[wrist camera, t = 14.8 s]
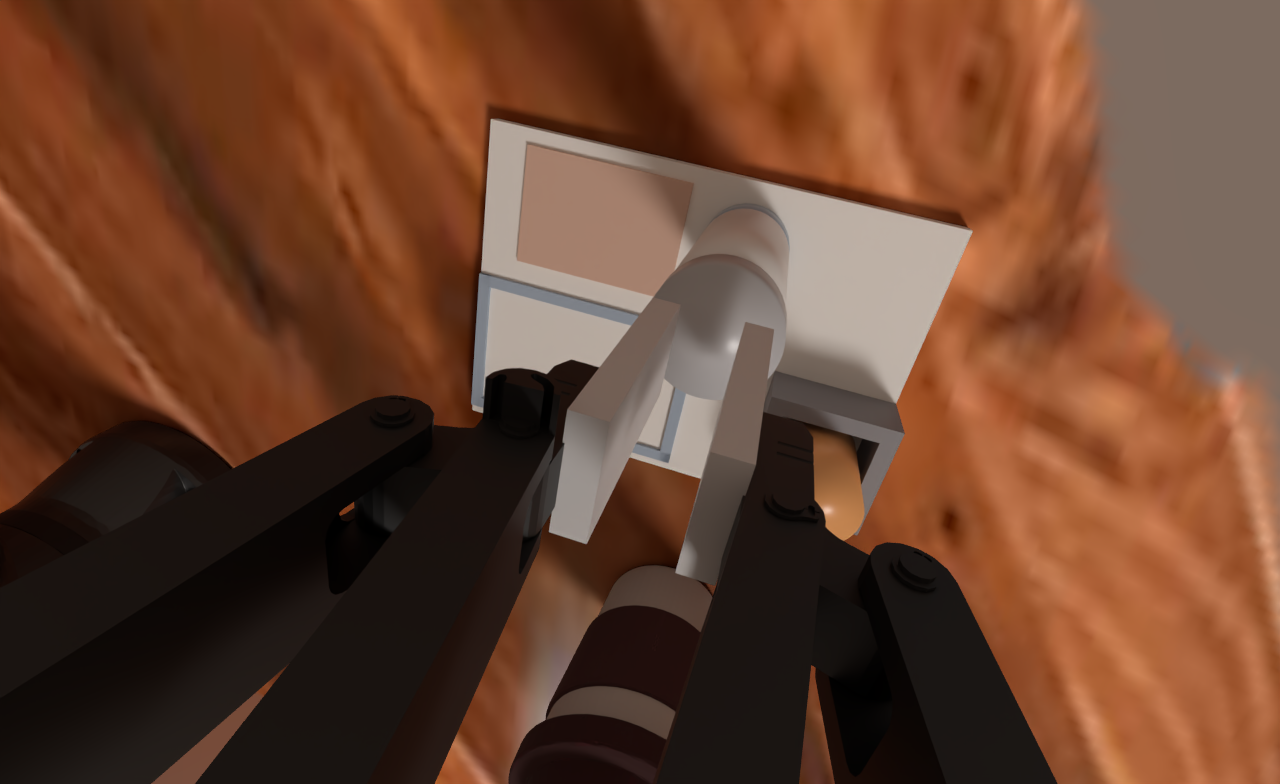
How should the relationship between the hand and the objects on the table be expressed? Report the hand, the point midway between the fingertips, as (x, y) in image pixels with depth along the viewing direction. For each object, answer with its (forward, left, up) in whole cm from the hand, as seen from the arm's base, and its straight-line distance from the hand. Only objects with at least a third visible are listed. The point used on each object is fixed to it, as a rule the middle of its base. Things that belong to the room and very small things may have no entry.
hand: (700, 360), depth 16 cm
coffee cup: (+1, -24, -15) cm, 28 cm away
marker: (0, 0, -14) cm, 14 cm away
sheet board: (-2, -5, -14) cm, 15 cm away
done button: (+6, -8, -12) cm, 16 cm away
